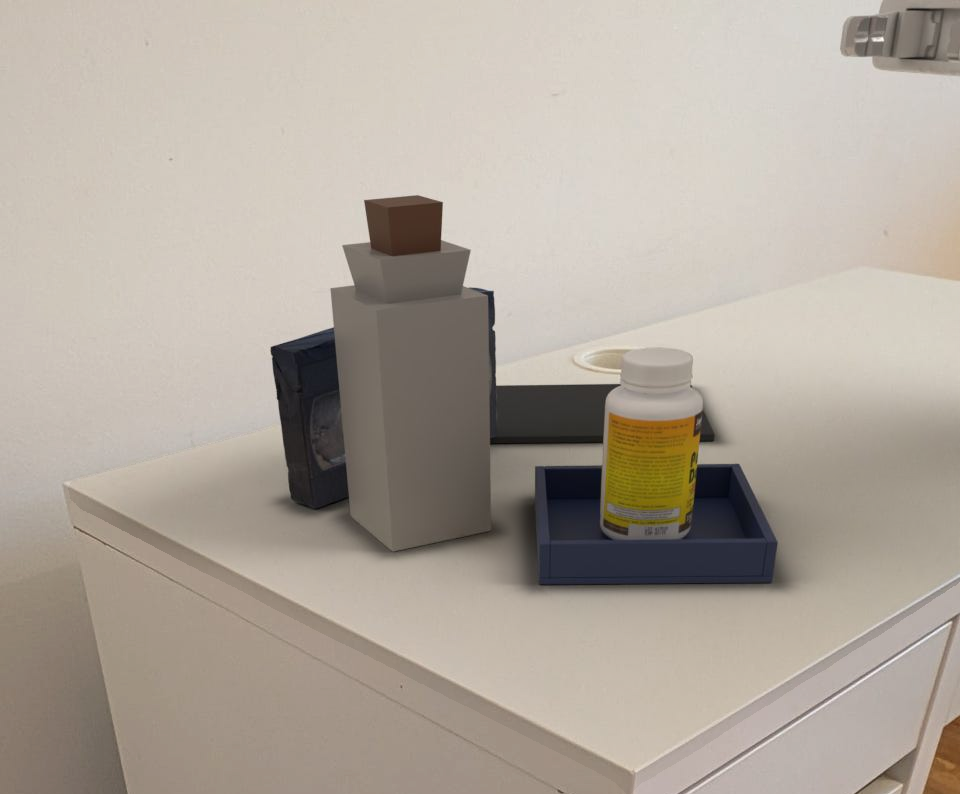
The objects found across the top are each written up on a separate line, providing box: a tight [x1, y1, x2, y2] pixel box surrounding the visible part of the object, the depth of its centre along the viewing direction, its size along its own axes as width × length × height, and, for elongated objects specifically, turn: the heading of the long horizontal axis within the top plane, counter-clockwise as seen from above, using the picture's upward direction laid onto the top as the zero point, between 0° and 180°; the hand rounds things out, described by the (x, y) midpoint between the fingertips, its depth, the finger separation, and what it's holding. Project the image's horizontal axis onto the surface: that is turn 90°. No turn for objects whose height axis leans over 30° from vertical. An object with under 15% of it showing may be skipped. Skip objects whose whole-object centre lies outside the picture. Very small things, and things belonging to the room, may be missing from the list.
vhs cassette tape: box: [270, 286, 497, 509], centre depth 77 cm, size 18×3×10 cm, turn 136°
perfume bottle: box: [330, 194, 492, 552], centre depth 67 cm, size 7×7×18 cm
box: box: [534, 463, 779, 585], centre depth 69 cm, size 13×13×2 cm
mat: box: [490, 383, 716, 444], centre depth 90 cm, size 18×14×1 cm
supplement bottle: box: [600, 346, 704, 540], centre depth 66 cm, size 6×6×10 cm
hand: (899, 39), depth 58 cm, fingers open, 8 cm apart
